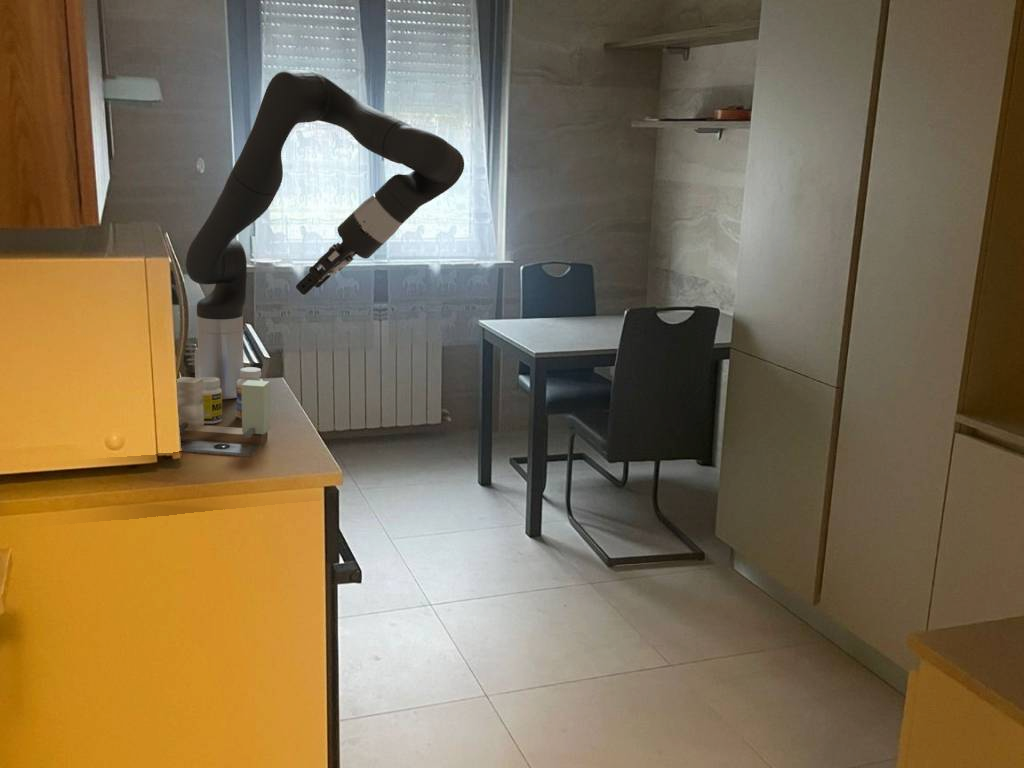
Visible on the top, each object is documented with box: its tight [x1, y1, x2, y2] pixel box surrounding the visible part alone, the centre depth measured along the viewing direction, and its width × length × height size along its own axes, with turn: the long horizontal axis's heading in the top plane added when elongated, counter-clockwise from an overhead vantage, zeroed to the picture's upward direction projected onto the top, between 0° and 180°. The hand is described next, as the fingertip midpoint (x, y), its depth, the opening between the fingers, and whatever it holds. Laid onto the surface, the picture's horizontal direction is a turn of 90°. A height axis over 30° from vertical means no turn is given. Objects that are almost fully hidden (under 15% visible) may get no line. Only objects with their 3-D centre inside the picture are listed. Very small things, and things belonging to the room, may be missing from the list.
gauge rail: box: [176, 376, 268, 447], centre depth 174 cm, size 16×7×11 cm, turn 86°
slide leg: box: [241, 380, 271, 438], centre depth 173 cm, size 4×7×9 cm, turn 176°
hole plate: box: [181, 439, 261, 458], centre depth 171 cm, size 16×5×1 cm, turn 86°
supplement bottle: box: [203, 377, 223, 425], centre depth 187 cm, size 5×5×8 cm
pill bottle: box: [236, 366, 264, 420], centre depth 191 cm, size 5×5×10 cm
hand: (306, 287), depth 172 cm, fingers open, 8 cm apart
